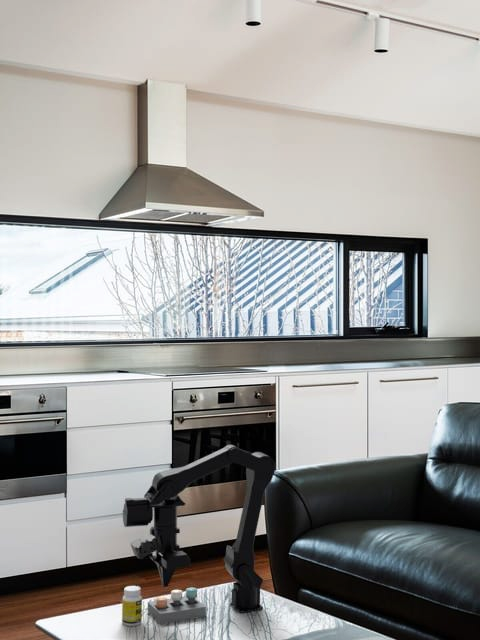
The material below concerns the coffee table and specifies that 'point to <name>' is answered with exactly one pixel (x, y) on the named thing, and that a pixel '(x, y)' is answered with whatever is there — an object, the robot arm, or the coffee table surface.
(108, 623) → the coffee table surface
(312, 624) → the coffee table surface
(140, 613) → the supplement bottle
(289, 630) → the coffee table surface
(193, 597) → the light blue egg
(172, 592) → the cream white egg
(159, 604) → the peach orange egg
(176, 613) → the panel
